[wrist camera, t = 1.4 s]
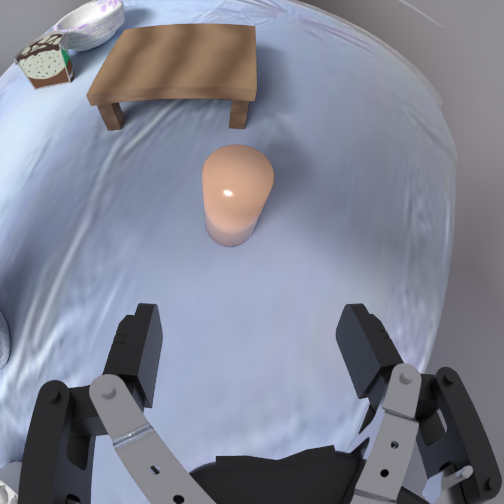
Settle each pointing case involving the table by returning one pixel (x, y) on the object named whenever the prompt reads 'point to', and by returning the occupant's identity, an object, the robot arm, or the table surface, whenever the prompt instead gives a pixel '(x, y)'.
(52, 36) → the food container
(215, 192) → the peach rounded cylinder
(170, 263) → the table surface
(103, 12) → the paper bowls
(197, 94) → the footstool
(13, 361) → the table surface
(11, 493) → the lumpy-topped squat cylinder
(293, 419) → the table surface
